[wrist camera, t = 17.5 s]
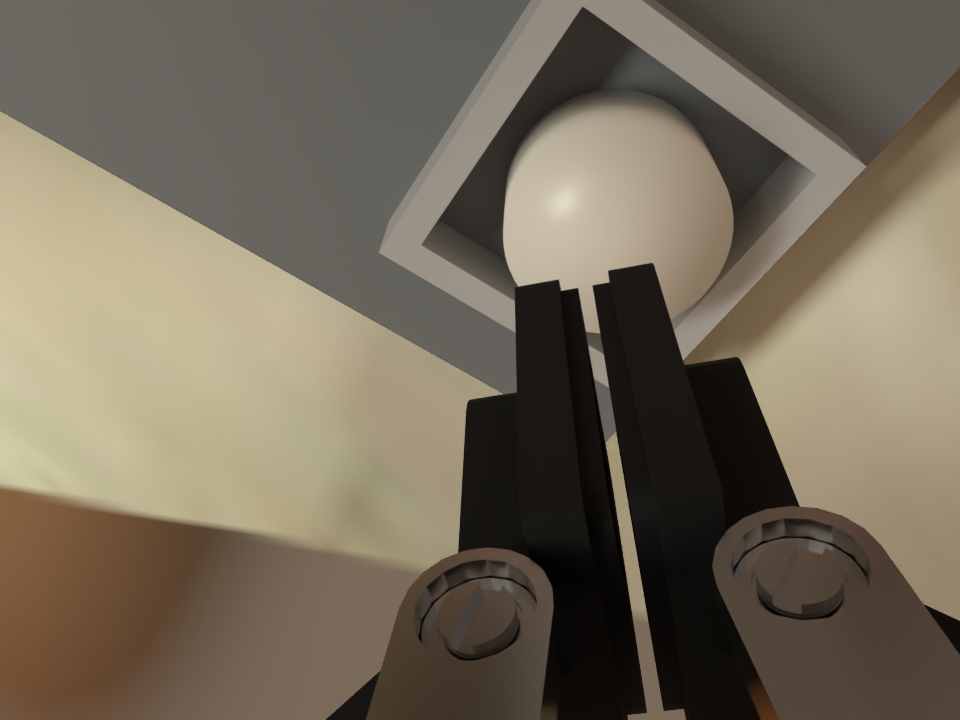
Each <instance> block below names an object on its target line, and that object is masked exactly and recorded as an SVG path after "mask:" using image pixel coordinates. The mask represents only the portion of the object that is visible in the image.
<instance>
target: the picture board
mask: <svg viewBox="0 0 960 720" xmlns="http://www.w3.org/2000/svg"><path fill="white" fill-rule="evenodd" d="M959 68H960V0H0V111H1V112H3V113H5V114H7V115H8V116H10V117H12V118H14V119H15V120H17V121H19V122H21V123H23V124H24V125H26V126H28V127H30V128H31V129H33V130H35V131H37V132H39V133H40V134H42V135H44V136H46V137H47V138H49V139H51V140H53V141H55V142H56V143H58V144H60V145H62V146H63V147H65V148H67V149H69V150H71V151H72V152H74V153H76V154H78V155H80V156H81V157H83V158H85V159H87V160H88V161H90V162H92V163H94V164H96V165H97V166H99V167H101V168H103V169H104V170H106V171H108V172H110V173H112V174H113V175H115V176H117V177H119V178H120V179H122V180H124V181H126V182H128V183H129V184H131V185H133V186H135V187H136V188H138V189H140V190H142V191H144V192H145V193H147V194H149V195H151V196H152V197H154V198H156V199H158V200H160V201H161V202H163V203H165V204H167V205H168V206H170V207H172V208H174V209H176V210H177V211H179V212H181V213H183V214H184V215H186V216H188V217H190V218H192V219H193V220H195V221H197V222H199V223H200V224H202V225H204V226H206V227H208V228H209V229H211V230H213V231H215V232H217V233H218V234H220V235H222V236H224V237H225V238H227V239H229V240H231V241H233V242H234V243H236V244H238V245H240V246H241V247H243V248H245V249H247V250H249V251H250V252H252V253H254V254H256V255H257V256H259V257H261V258H263V259H265V260H266V261H268V262H270V263H272V264H273V265H275V266H277V267H279V268H281V269H282V270H284V271H286V272H288V273H289V274H291V275H293V276H295V277H297V278H298V279H300V280H302V281H304V282H305V283H307V284H309V285H311V286H313V287H314V288H316V289H318V290H320V291H321V292H323V293H325V294H327V295H329V296H330V297H332V298H334V299H336V300H337V301H339V302H341V303H343V304H345V305H346V306H348V307H350V308H352V309H354V310H355V311H357V312H359V313H361V314H362V315H364V316H366V317H368V318H370V319H371V320H373V321H375V322H377V323H378V324H380V325H382V326H384V327H386V328H387V329H389V330H391V331H393V332H394V333H396V334H398V335H400V336H402V337H403V338H405V339H407V340H409V341H410V342H412V343H414V344H416V345H418V346H419V347H421V348H423V349H425V350H426V351H428V352H430V353H432V354H434V355H435V356H437V357H439V358H441V359H442V360H444V361H446V362H448V363H450V364H451V365H453V366H455V367H457V368H458V369H460V370H462V371H464V372H466V373H467V374H469V375H471V376H473V377H474V378H476V379H478V380H480V381H482V382H483V383H485V384H487V385H489V386H491V387H492V388H494V389H496V390H498V391H499V392H501V393H503V394H509V393H516V392H517V377H516V332H515V287H518V285H517V284H516V282H515V281H514V279H513V276H512V274H511V272H510V270H509V267H508V264H507V260H506V257H505V251H504V245H503V224H504V208H505V193H506V182H507V175H508V170H509V167H510V163H511V160H512V158H513V156H514V153H515V151H516V149H517V147H518V145H519V144H520V142H521V140H522V139H523V137H524V136H525V134H526V133H527V132H528V131H529V129H530V128H531V127H532V126H533V125H534V124H535V123H536V122H537V121H538V120H539V119H540V118H541V117H542V116H543V115H545V114H546V113H547V112H549V111H550V110H551V109H553V108H554V107H556V106H558V105H559V104H561V103H563V102H565V101H566V100H569V99H571V98H574V97H576V96H579V95H582V94H586V93H589V92H593V91H600V90H608V89H624V90H632V91H638V92H642V93H645V94H649V95H652V96H654V97H657V98H659V99H661V100H664V101H665V102H667V103H669V104H670V105H672V106H674V107H675V108H677V109H678V110H679V111H680V112H681V113H683V114H684V115H685V116H686V117H687V118H688V119H689V120H690V121H691V122H692V124H693V125H694V126H695V127H696V129H697V130H698V132H699V133H700V135H701V136H702V138H703V140H704V142H705V144H706V146H707V148H708V150H709V152H710V154H711V156H712V158H713V160H714V162H715V164H716V166H717V168H718V170H719V172H720V174H721V176H722V179H723V181H724V183H725V185H726V187H727V189H728V192H729V196H730V199H731V203H732V209H733V236H732V243H731V247H730V250H729V253H728V257H727V259H726V261H725V264H724V266H723V268H722V270H721V272H720V273H719V275H718V277H717V278H716V280H715V281H714V283H713V284H712V285H711V287H710V288H709V289H708V290H707V292H706V293H705V294H704V295H703V296H702V297H701V298H700V299H699V300H698V301H697V302H696V303H694V304H693V305H692V306H691V307H689V308H688V309H687V310H685V311H684V312H682V313H681V314H679V315H677V316H676V317H674V318H672V319H671V323H672V326H673V329H674V332H675V336H676V339H677V342H678V346H679V349H680V352H681V356H682V359H683V360H684V359H685V358H686V357H687V356H688V355H689V354H690V353H691V352H692V350H693V349H694V348H695V347H696V346H697V345H698V344H699V343H700V342H701V341H702V340H703V339H704V338H705V337H706V336H707V335H708V334H709V333H710V331H711V330H712V329H713V328H714V327H715V326H716V325H717V324H718V323H719V322H720V321H721V320H722V319H723V318H724V317H725V316H726V315H727V313H728V312H729V311H730V310H731V309H732V308H733V307H734V306H735V305H736V304H737V303H738V302H739V301H740V300H741V299H742V298H743V297H744V296H745V294H746V293H747V292H748V291H749V290H750V289H751V288H752V287H753V286H754V285H755V284H756V283H757V282H758V281H759V280H760V279H761V278H762V276H763V275H764V274H765V273H766V272H767V271H768V270H769V269H770V268H771V267H772V266H773V265H774V264H775V263H776V262H777V261H778V260H779V259H780V257H781V256H782V255H783V254H784V253H785V252H786V251H787V250H788V249H789V248H790V247H791V246H792V245H793V244H794V243H795V242H796V241H797V239H798V238H799V237H800V236H801V235H802V234H803V233H804V232H805V231H806V230H807V229H808V228H809V227H810V226H811V225H812V224H813V223H814V222H815V220H816V219H817V218H818V217H819V216H820V215H821V214H822V213H823V212H824V211H825V210H826V209H827V208H828V207H829V206H830V205H831V204H832V202H833V201H834V200H835V199H836V198H837V197H838V196H839V195H840V194H841V193H842V192H843V191H844V190H845V189H846V188H847V187H848V186H849V185H850V183H851V182H852V181H853V180H854V179H855V178H856V177H857V176H858V175H859V174H860V173H861V172H862V171H863V170H864V169H865V168H866V167H867V165H868V164H869V163H870V162H871V161H872V160H873V159H874V158H875V157H876V156H877V155H878V154H879V153H880V151H881V150H882V149H883V148H884V147H885V146H886V145H887V144H888V143H889V142H890V141H891V140H892V139H893V138H894V137H895V136H896V135H897V134H898V132H899V131H900V130H901V129H902V128H903V127H904V126H905V125H906V124H907V123H908V122H909V121H910V120H911V119H912V118H913V117H914V116H915V114H916V113H917V112H918V111H919V110H920V109H921V108H922V107H923V106H924V105H925V104H926V103H927V102H928V101H929V100H930V99H931V98H932V97H933V95H934V94H935V93H936V92H937V91H938V90H939V89H940V88H941V87H942V86H943V85H944V84H945V83H946V82H947V81H948V80H949V79H950V77H951V76H952V75H953V74H954V73H955V72H956V71H957V70H958V69H959ZM586 335H587V341H588V347H589V353H590V358H591V364H592V370H593V375H594V381H595V387H596V393H597V398H598V404H599V410H600V415H601V421H602V427H603V432H604V438H605V442H606V441H607V440H608V439H609V438H610V437H611V436H612V435H613V434H614V433H615V432H616V426H615V420H614V414H613V408H612V402H611V396H610V390H609V384H608V378H607V371H606V365H605V359H604V353H603V347H602V341H601V335H600V333H592V332H586Z"/></svg>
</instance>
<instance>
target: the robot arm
mask: <svg viewBox="0 0 960 720" xmlns="http://www.w3.org/2000/svg"><path fill="white" fill-rule="evenodd" d="M608 276H609V283H603V284H597V285H592V286H593V293H594V299H595V305H596V311H597V317H598V323H599V329H600V335H601V341H602V347H603V353H604V359H605V365H606V371H607V378H608V384H609V390H610V396H611V402H612V408H613V414H614V420H615V426H616V432H617V438H618V444H619V450H620V456H621V462H622V468H623V474H624V480H625V486H626V492H627V498H628V504H629V510H630V516H631V521H632V527H633V533H634V539H635V545H636V551H637V557H638V563H639V568H640V574H641V580H642V586H643V592H644V598H645V604H646V610H647V615H648V621H649V627H650V632H651V639H652V645H653V651H654V656H655V662H656V668H657V674H658V680H659V686H660V692H661V698H662V703H663V709H664V711H668V710H677V709H684V712H685V716H686V720H960V621H959V620H956V619H954V618H952V617H950V616H948V615H946V614H943V613H941V612H939V611H937V610H935V609H933V608H930V607H928V606H926V605H924V604H923V603H922V602H921V600H920V599H919V597H918V596H917V595H916V593H915V592H914V590H913V589H912V588H911V586H910V585H909V583H908V582H907V581H906V579H905V578H904V576H903V575H902V574H901V572H900V571H899V569H898V568H897V567H896V565H895V564H894V563H893V561H892V560H891V558H890V557H889V556H888V554H887V553H886V551H885V550H884V549H883V547H882V546H881V545H880V544H879V543H878V542H877V541H876V540H875V539H874V538H873V537H872V536H871V535H870V534H869V533H868V532H867V531H866V530H865V529H864V528H863V527H861V526H859V525H857V524H856V523H854V522H852V521H850V520H849V519H847V518H845V517H843V516H841V515H838V514H835V513H831V512H828V511H825V510H821V509H818V508H808V507H800V506H799V504H798V501H797V499H796V496H795V494H794V491H793V489H792V486H791V484H790V481H789V479H788V476H787V474H786V471H785V469H784V466H783V464H782V461H781V459H780V456H779V454H778V451H777V449H776V446H775V444H774V441H773V439H772V436H771V434H770V431H769V429H768V426H767V424H766V421H765V419H764V416H763V414H762V411H761V409H760V406H759V404H758V401H757V399H756V396H755V394H754V391H753V389H752V386H751V384H750V381H749V379H748V376H747V374H746V371H745V369H744V367H743V365H742V363H741V361H740V359H739V358H737V357H733V358H727V359H721V360H715V361H709V362H702V363H696V364H690V365H684V362H683V359H682V356H681V352H680V349H679V346H678V342H677V339H676V336H675V332H674V329H673V326H672V323H671V319H670V316H669V313H668V309H667V306H666V303H665V299H664V296H663V293H662V290H661V286H660V283H659V280H658V276H657V273H656V270H655V266H654V264H653V263H648V264H642V265H637V266H631V267H625V268H620V269H614V270H609V271H608ZM515 332H516V377H517V392H516V393H509V394H503V395H497V396H491V397H485V398H478V399H472V400H469V401H468V403H467V410H466V425H465V443H464V461H463V478H462V496H461V514H460V532H459V549H458V553H457V554H455V555H452V556H450V557H447V558H444V559H442V560H441V561H439V562H438V563H436V564H435V565H433V566H432V567H430V568H429V569H427V570H426V571H424V572H423V573H422V574H421V575H420V577H419V578H418V579H417V580H416V581H415V582H414V583H413V584H412V585H411V587H410V588H409V589H408V591H407V593H406V595H405V597H404V599H403V601H402V603H401V605H400V607H399V610H398V614H397V617H396V621H395V624H394V627H393V631H392V634H391V637H390V640H389V644H388V647H387V650H386V654H385V657H384V661H383V664H382V667H381V670H380V672H378V674H376V675H375V676H374V677H373V678H372V679H371V680H370V681H369V682H367V683H366V684H365V685H364V686H363V687H362V688H361V689H360V690H358V691H357V692H356V693H355V694H354V695H353V696H352V697H351V698H349V699H348V700H347V701H346V702H345V703H344V704H343V705H342V706H341V707H340V708H338V709H337V710H336V711H335V712H334V713H333V714H332V715H331V716H329V717H328V718H327V719H326V720H628V717H627V715H631V714H640V713H647V710H646V703H645V696H644V690H643V683H642V676H641V670H640V664H639V657H638V650H637V644H636V637H635V630H634V624H633V617H632V611H631V604H630V598H629V591H628V584H627V578H626V571H625V565H624V558H623V552H622V545H621V538H620V532H619V525H618V519H617V512H616V506H615V499H614V492H613V486H612V479H611V473H610V467H609V461H608V455H607V450H606V444H605V438H604V432H603V427H602V421H601V415H600V410H599V404H598V398H597V393H596V387H595V381H594V375H593V370H592V364H591V358H590V353H589V347H588V341H587V335H586V330H585V324H584V318H583V313H582V307H581V301H580V296H579V290H578V288H574V289H569V290H563V291H561V287H560V282H559V279H558V280H552V281H546V282H541V283H535V284H530V285H524V286H518V287H515Z"/></svg>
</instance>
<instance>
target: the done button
mask: <svg viewBox="0 0 960 720" xmlns="http://www.w3.org/2000/svg"><path fill="white" fill-rule="evenodd" d="M732 236H733V209H732V203H731V199H730V196H729V192H728V189H727V187H726V185H725V183H724V181H723V179H722V176H721V174H720V172H719V170H718V168H717V166H716V164H715V162H714V160H713V158H712V156H711V154H710V152H709V150H708V148H707V146H706V144H705V142H704V140H703V138H702V136H701V135H700V133H699V132H698V130H697V129H696V127H695V126H694V125H693V124H692V122H691V121H690V120H689V119H688V118H687V117H686V116H685V115H684V114H683V113H681V112H680V111H679V110H678V109H677V108H675V107H674V106H672V105H670V104H669V103H667V102H665V101H664V100H661V99H659V98H657V97H654V96H652V95H649V94H645V93H642V92H638V91H632V90H624V89H608V90H600V91H593V92H589V93H586V94H582V95H579V96H576V97H574V98H571V99H569V100H566V101H565V102H563V103H561V104H559V105H558V106H556V107H554V108H553V109H551V110H550V111H549V112H547V113H546V114H545V115H543V116H542V117H541V118H540V119H539V120H538V121H537V122H536V123H535V124H534V125H533V126H532V127H531V128H530V129H529V131H528V132H527V133H526V134H525V136H524V137H523V139H522V140H521V142H520V144H519V145H518V147H517V149H516V151H515V153H514V156H513V158H512V160H511V163H510V167H509V170H508V175H507V182H506V193H505V208H504V224H503V245H504V251H505V257H506V260H507V264H508V267H509V270H510V272H511V274H512V276H513V279H514V281H515V282H516V284H517V285H518V286H524V285H530V284H535V283H541V282H546V281H552V280H558V279H559V282H560V287H561V291H563V290H569V289H574V288H578V290H579V296H580V301H581V307H582V313H583V318H584V324H585V330H586V332H592V333H600V329H599V323H598V317H597V311H596V305H595V299H594V293H593V286H592V285H597V284H603V283H609V276H608V271H609V270H614V269H620V268H625V267H631V266H637V265H642V264H648V263H653V264H654V266H655V270H656V273H657V276H658V280H659V283H660V286H661V290H662V293H663V296H664V299H665V303H666V306H667V309H668V313H669V316H670V319H672V318H674V317H676V316H677V315H679V314H681V313H682V312H684V311H685V310H687V309H688V308H689V307H691V306H692V305H693V304H694V303H696V302H697V301H698V300H699V299H700V298H701V297H702V296H703V295H704V294H705V293H706V292H707V290H708V289H709V288H710V287H711V285H712V284H713V283H714V281H715V280H716V278H717V277H718V275H719V273H720V272H721V270H722V268H723V266H724V264H725V261H726V259H727V257H728V253H729V250H730V247H731V243H732Z"/></svg>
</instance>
